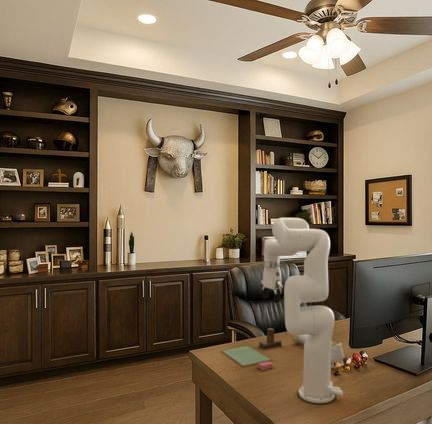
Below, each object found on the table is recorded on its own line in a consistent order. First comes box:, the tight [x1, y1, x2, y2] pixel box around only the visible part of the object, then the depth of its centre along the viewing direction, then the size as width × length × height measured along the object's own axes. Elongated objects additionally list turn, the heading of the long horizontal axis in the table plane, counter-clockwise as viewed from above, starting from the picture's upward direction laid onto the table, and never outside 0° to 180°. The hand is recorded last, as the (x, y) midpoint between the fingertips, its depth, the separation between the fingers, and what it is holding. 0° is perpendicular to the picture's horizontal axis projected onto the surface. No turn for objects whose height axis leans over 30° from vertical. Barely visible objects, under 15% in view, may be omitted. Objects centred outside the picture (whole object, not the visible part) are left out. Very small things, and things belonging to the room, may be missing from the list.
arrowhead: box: [331, 342, 346, 369], centre depth 163 cm, size 8×2×10 cm, turn 119°
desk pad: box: [222, 345, 272, 367], centre depth 174 cm, size 20×14×1 cm
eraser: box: [257, 360, 273, 371], centre depth 161 cm, size 3×5×2 cm, turn 122°
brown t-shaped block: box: [258, 327, 282, 350], centre depth 187 cm, size 4×10×8 cm, turn 122°
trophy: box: [291, 334, 340, 364], centre depth 180 cm, size 8×8×30 cm
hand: (271, 300), depth 187 cm, fingers open, 9 cm apart
